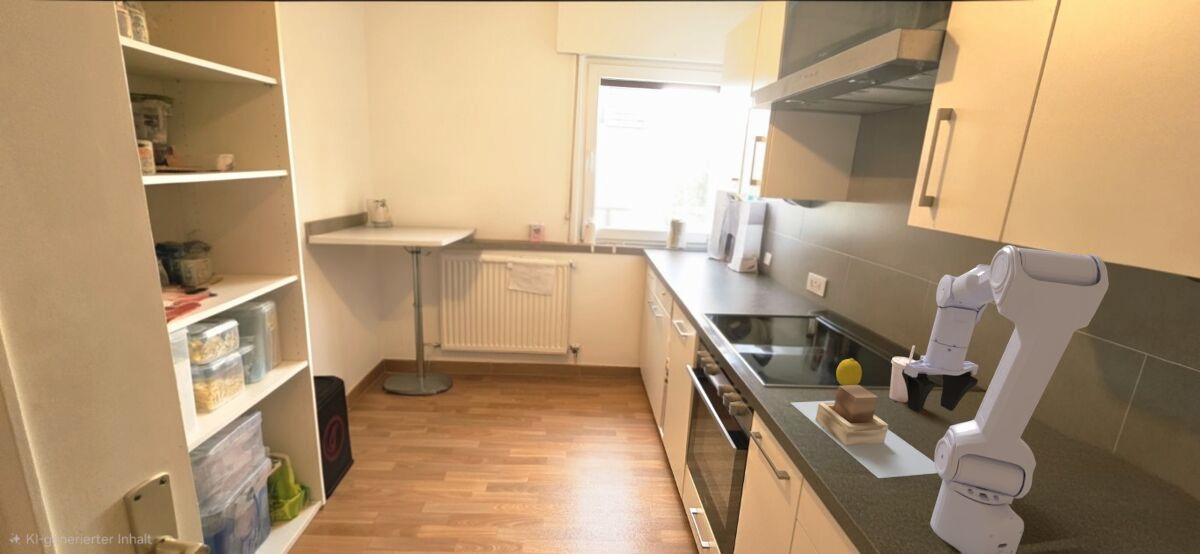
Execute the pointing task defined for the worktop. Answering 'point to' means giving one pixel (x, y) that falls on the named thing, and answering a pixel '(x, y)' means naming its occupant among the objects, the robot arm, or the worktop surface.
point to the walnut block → (855, 404)
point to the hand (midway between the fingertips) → (930, 409)
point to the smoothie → (899, 378)
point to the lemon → (849, 372)
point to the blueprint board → (879, 451)
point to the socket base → (851, 427)
